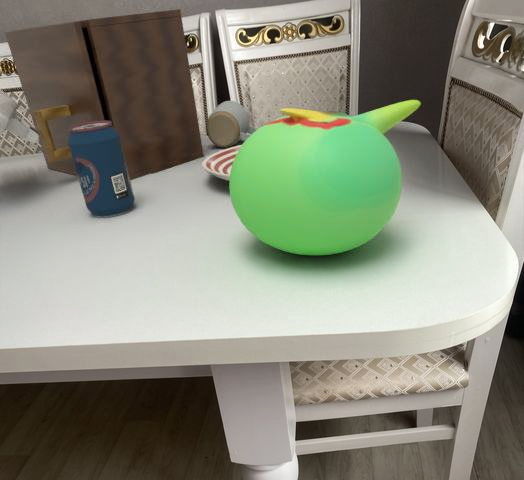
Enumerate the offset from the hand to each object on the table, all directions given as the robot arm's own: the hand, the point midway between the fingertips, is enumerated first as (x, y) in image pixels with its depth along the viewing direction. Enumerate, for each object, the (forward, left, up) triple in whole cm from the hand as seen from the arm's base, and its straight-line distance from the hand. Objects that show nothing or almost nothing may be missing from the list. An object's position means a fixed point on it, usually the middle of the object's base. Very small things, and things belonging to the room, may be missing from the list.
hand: (37, 138), depth 88 cm
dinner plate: (+34, +24, -9) cm, 42 cm away
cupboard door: (-3, +4, -8) cm, 10 cm away
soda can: (+22, -2, -9) cm, 24 cm away
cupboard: (-3, +18, -8) cm, 20 cm away
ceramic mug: (+9, +37, -9) cm, 39 cm away
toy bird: (+57, +2, -9) cm, 58 cm away
